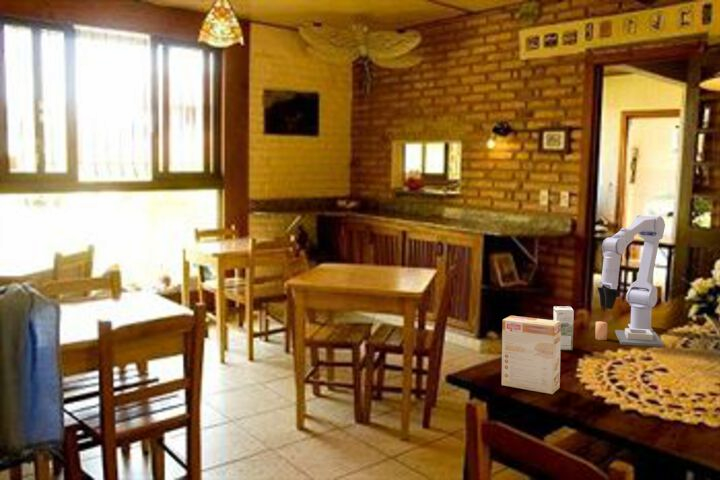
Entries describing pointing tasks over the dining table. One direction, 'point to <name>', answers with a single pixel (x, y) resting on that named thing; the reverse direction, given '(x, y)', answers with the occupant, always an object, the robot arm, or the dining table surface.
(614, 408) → the dining table surface
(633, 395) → the dining table surface
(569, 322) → the syrup box
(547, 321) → the coffeecake box
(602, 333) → the peach rounded egg part
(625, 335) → the dock board
